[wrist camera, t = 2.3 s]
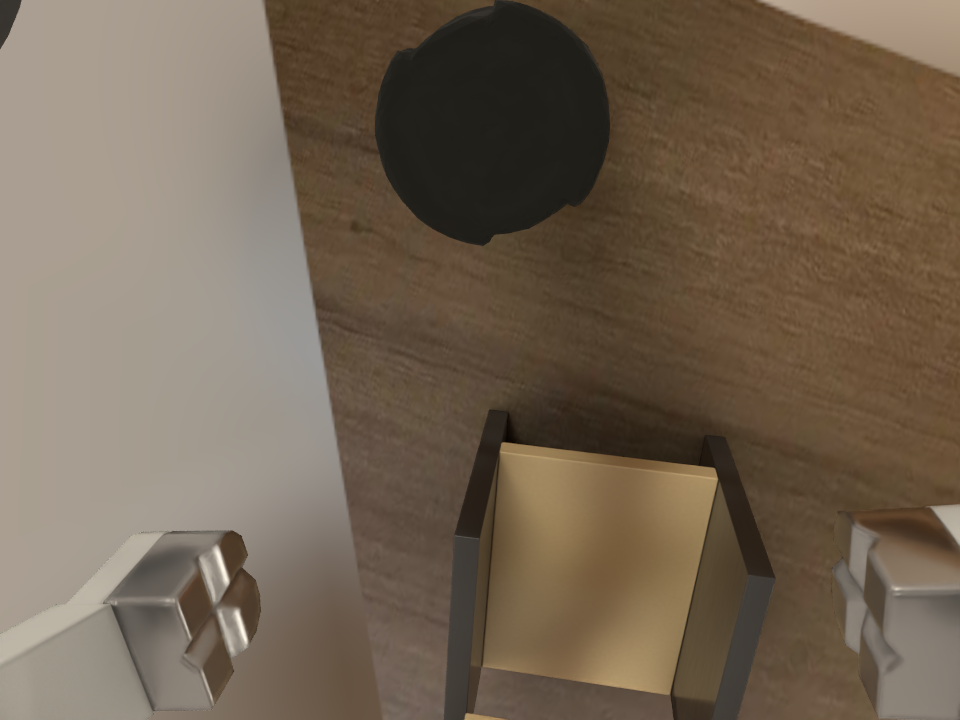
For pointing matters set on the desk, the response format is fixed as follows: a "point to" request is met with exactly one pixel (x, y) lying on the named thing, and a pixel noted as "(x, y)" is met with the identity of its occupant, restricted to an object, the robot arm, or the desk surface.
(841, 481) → the desk surface
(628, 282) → the desk surface
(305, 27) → the desk surface
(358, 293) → the desk surface
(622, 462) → the shelf
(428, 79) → the spray can
